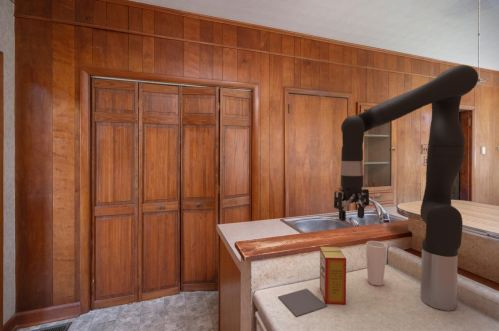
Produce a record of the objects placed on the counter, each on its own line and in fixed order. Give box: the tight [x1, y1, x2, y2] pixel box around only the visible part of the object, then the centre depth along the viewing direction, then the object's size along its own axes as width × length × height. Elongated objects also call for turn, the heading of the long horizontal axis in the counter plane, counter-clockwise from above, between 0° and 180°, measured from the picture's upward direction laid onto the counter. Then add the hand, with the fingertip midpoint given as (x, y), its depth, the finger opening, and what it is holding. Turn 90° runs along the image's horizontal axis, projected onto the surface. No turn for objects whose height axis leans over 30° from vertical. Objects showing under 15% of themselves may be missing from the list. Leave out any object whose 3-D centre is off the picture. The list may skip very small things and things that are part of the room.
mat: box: [277, 287, 328, 318], centre depth 82 cm, size 12×11×1 cm
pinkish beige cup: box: [365, 240, 387, 287], centre depth 93 cm, size 7×7×15 cm
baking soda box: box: [319, 246, 347, 306], centre depth 85 cm, size 10×6×16 cm
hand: (351, 219), depth 87 cm, fingers open, 8 cm apart
